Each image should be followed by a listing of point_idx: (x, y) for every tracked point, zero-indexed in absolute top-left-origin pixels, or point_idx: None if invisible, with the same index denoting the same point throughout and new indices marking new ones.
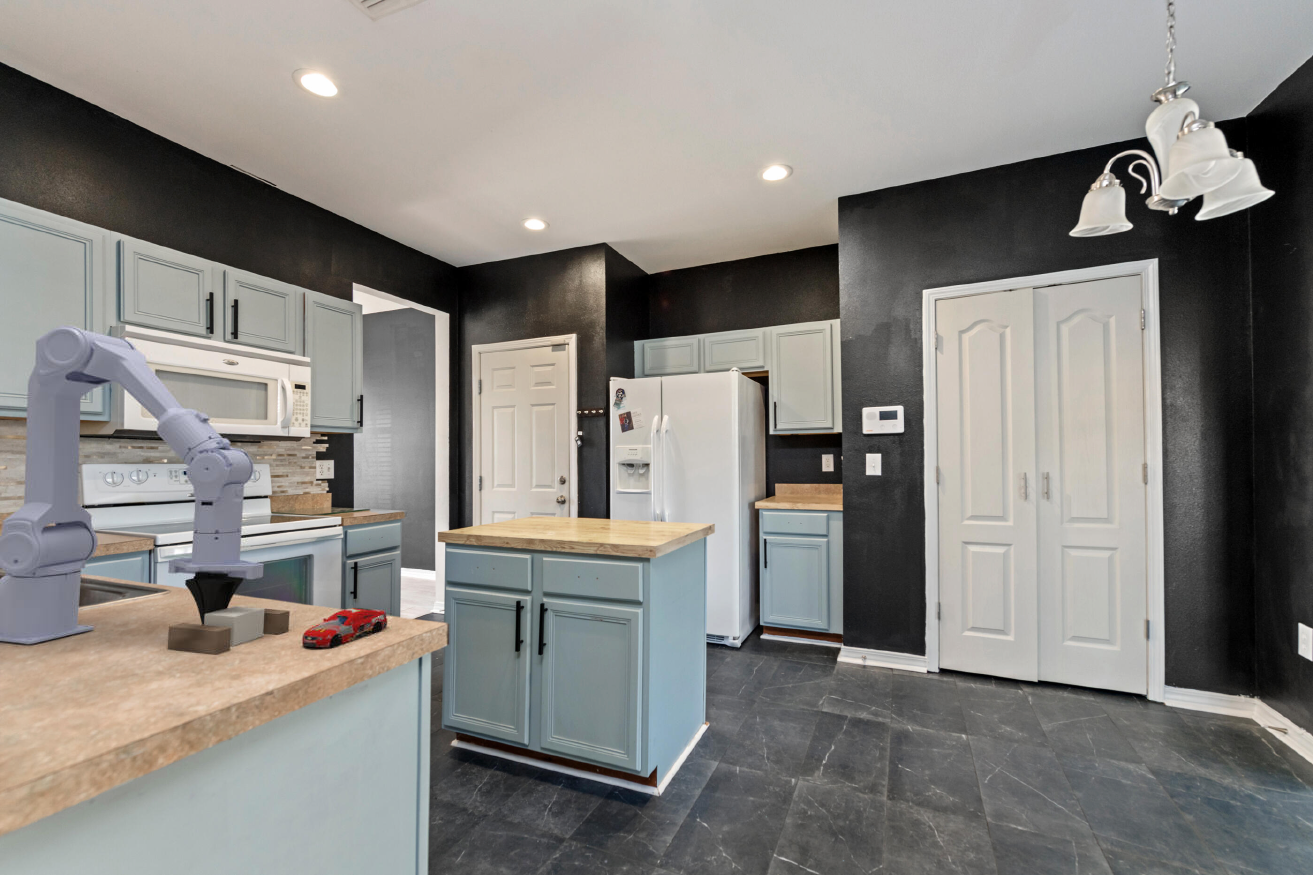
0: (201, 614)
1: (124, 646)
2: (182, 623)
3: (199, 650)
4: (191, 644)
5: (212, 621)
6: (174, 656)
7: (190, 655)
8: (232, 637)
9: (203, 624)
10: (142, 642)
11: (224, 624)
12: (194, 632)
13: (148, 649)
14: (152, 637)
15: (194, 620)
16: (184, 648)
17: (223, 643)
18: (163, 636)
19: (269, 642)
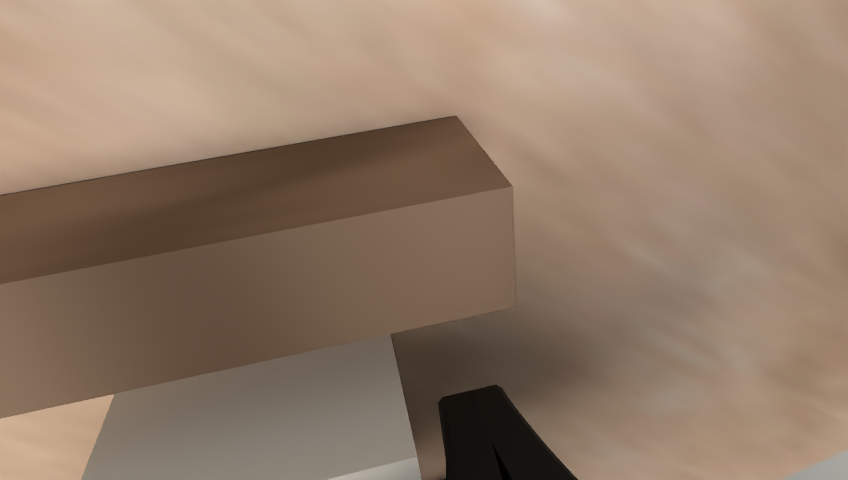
0: (521, 450)
1: (790, 22)
2: (500, 295)
3: (143, 174)
4: (221, 175)
5: (319, 428)
6: (204, 21)
7: (123, 97)
8: None
9: (489, 398)
10: (748, 132)
11: (191, 446)
12: (177, 231)
13: (574, 51)
14: (772, 218)
15: (795, 444)
16: (294, 148)
17: None
18: (727, 256)
19: (34, 475)
